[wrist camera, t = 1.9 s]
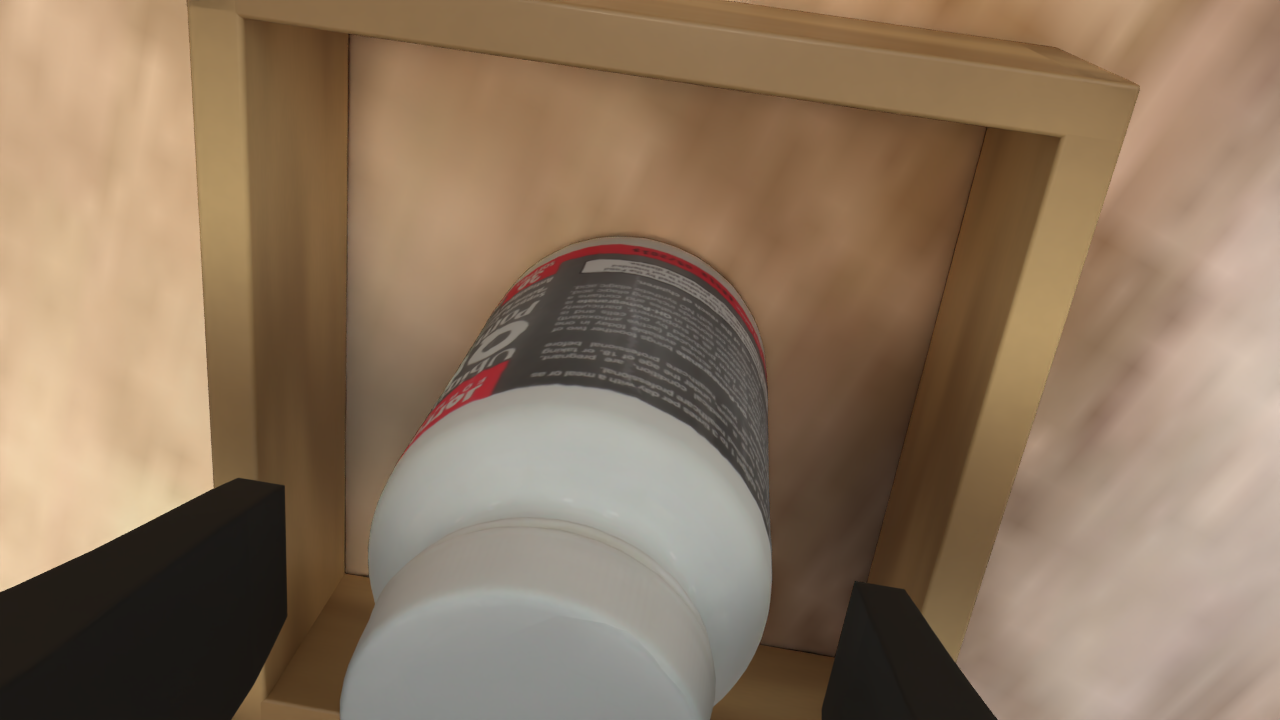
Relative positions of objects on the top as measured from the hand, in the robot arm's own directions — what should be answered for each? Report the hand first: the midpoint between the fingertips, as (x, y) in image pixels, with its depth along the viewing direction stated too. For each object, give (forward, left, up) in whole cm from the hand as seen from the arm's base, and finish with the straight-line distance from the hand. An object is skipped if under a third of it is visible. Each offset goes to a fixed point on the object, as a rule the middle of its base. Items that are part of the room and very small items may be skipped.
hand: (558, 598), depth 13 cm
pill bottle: (0, 0, -8) cm, 8 cm away
